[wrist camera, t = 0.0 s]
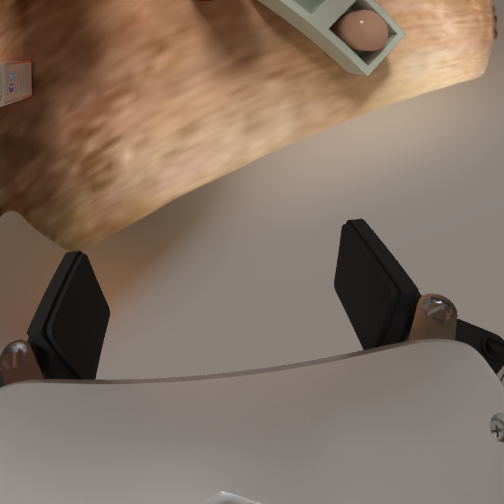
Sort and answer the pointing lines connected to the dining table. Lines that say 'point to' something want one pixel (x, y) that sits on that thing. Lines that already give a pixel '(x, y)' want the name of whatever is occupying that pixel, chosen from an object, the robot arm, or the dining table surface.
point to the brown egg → (361, 30)
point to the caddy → (317, 30)
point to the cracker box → (15, 81)
